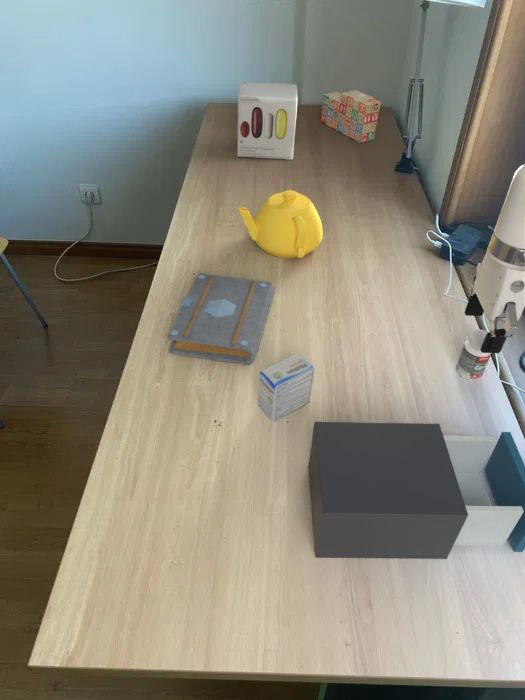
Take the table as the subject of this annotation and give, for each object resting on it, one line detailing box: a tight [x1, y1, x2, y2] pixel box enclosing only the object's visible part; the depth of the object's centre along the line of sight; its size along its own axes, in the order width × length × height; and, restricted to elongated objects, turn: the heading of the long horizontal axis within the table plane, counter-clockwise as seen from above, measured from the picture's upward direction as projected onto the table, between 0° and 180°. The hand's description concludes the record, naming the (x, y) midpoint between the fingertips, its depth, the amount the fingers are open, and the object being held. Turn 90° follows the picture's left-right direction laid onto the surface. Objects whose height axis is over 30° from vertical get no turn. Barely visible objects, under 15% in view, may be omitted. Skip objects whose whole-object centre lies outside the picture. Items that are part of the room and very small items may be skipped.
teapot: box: [238, 189, 323, 259], centre depth 129 cm, size 20×19×13 cm
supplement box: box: [236, 81, 299, 161], centre depth 169 cm, size 17×13×18 cm
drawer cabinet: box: [307, 421, 468, 560], centre depth 77 cm, size 18×15×11 cm
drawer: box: [443, 431, 525, 553], centre depth 77 cm, size 22×13×9 cm, turn 90°
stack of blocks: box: [320, 89, 382, 144], centre depth 185 cm, size 21×6×12 cm, turn 33°
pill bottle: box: [455, 329, 492, 381], centre depth 100 cm, size 5×5×8 cm
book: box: [166, 272, 276, 366], centre depth 109 cm, size 21×16×5 cm
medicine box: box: [258, 352, 315, 423], centre depth 92 cm, size 8×4×9 cm, turn 126°
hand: (481, 332), depth 97 cm, fingers open, 9 cm apart
